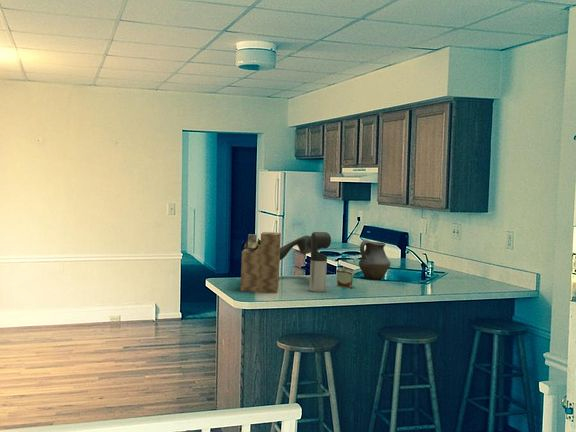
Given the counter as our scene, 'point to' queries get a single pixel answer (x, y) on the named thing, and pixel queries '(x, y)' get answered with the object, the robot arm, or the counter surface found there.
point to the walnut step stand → (262, 265)
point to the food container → (344, 277)
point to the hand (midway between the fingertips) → (254, 240)
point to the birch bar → (252, 241)
